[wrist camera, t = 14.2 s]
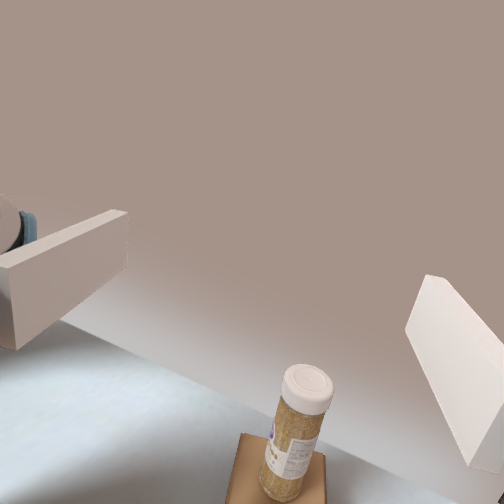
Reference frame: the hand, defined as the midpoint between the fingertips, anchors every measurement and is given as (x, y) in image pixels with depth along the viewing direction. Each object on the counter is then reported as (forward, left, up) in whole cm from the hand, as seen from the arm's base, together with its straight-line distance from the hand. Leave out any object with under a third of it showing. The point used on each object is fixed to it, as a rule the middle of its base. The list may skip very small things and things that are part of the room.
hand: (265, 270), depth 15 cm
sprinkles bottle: (+5, +12, -28) cm, 31 cm away
